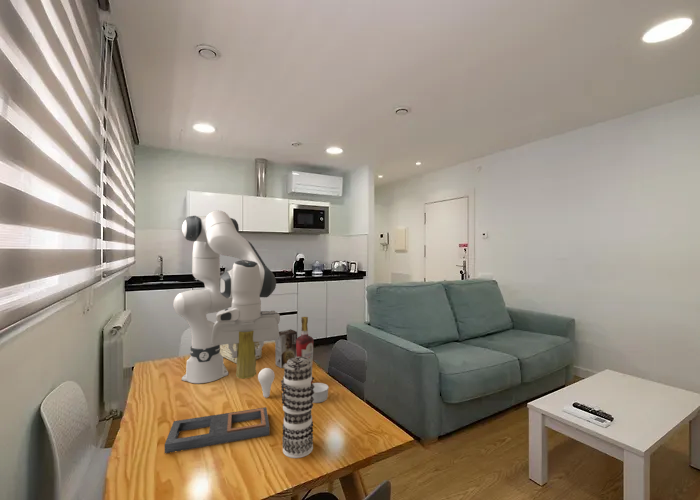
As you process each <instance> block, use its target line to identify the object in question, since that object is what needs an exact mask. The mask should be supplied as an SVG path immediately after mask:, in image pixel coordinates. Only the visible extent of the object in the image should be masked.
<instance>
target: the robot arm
mask: <svg viewBox="0 0 700 500" xmlns="http://www.w3.org/2000/svg"><path fill="white" fill-rule="evenodd" d="M181 231H182V235H183V237H184V238H185V240H187V241H189V242H193V244H192V245H193V246H192V255H191V259H192V260H191V263H192V264H191V273H192V276H193V277H194V278H195V279H197V280H198V281H200V282H202V283H203V284H204V288H202V289H190V290H186V291H182V292H179V293H177V294H176V296H175V297H174V299H173V302H172V304H173V305H172V306H173V309H174V312H175V313H176V314H177V315H178V316H179V317H182V318H183V319H184V320H185V321H186V322H187V324H188V325H189V329H190V336H191V346H190V350H189V352H190V353H189V354H190V356H189V358H188V359H187V360H186V367H185V368H186V369H185V371H186V372H185V374H184V375H183V376H182V377H181V381H184V382H188V383H191V384H204V383H210V382H214V381H217V380H220V379H221V378H223V377H226V376H228V375H229V371H228V369H227V367H226V366H225V363H224V357H222V355H221V354H220V345H224V344H229V345H228V348H229V349H230V351H231V352H232V358H237V351H234V349H233V344H236V343H239V332H250V331H254V332H253V342H259V347H258V349H255V356H258V355H260V350H261V348H262V349H263V347H264V344H265V342H269V341H275V340H277V339H278V338H279V332H280V329H279V324H280V323H281V315H280V313H279V312H278V311H275V310H269V311H268V310H262V306H261V305H262V301H261V298H269V297H270V296H271V295H272V293H274V292H275V290H276V288H277V287H276V286H277V280H276V277H275V274H274V273H273V271H272V270H271V269H270V268H269V267H267V264H265V262H264V260H263V259H262V257H261V256H260V254H259V253H258V251H257V250H256V248H255V246H254V245H253V244H252V243H251V241H249V240H247V239H246V238H245V237H243V236H242V235H241V234H240V233H239V232H240V227H239V224H238V221H237V220H236V219H235V218H232V217H230V216H229V214H228V213H226V212H225V211H222V210H219V209H218V210H217V209H216V210H213V211H210V212H209V213H208V214H207V215H202V216H200V215H198V216H197V215H190V216H187V217H185V218H184V220H183V222H182V225H181ZM221 255H222V256H227V257H231V258H235V259H239V260H238V261H235V262H233V265H232V268H231V269H230V270H226V271H225V272H224V273H223V274H222V275H221V267H220V266H221V264H220V262H221V260H220V259H221V258H220V257H221ZM215 313H216V314H215ZM207 314H215V315H216V316H215V319H216V321H214V322H213V321H211V320H208V318H207Z"/></svg>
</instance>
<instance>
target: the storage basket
mask: <svg viewBox="0 0 700 500" xmlns="http://www.w3.org/2000/svg"><path fill="white" fill-rule="evenodd" d="M228 345H229V344H224V345H220V354H221V355H222V357H223V359H224V358H225V359H227V360H228V361H230V362H233V363H234V364H236V365H237V358H232V352H231V351H230V349H229V348H228ZM258 347H259V342H255V349H258ZM233 349H234V351H237V343H236V344H233ZM262 351H263V347H262V348H261V350H260V355H258V356H255V358H256V360H258V359H261V358H262V354H263V353H262Z"/></svg>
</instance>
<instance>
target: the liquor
mask: <svg viewBox="0 0 700 500" xmlns="http://www.w3.org/2000/svg"><path fill="white" fill-rule="evenodd" d="M300 318H301V319H300V320H301V333H300V336H297V339H296V355H297V357H305V358H307V359H308V360H309V361H310V362H311V363H312V364H313V361H314V359H313V356H314V338H313V337H312V336H311V335H309V330H308V321H309V317H308V316H301V317H300ZM311 374H312V375H313V365H312V366H311ZM311 383H314V380H312V381H311Z"/></svg>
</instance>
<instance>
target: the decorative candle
mask: <svg viewBox="0 0 700 500" xmlns="http://www.w3.org/2000/svg"><path fill="white" fill-rule="evenodd" d="M313 365H314V364H313V362H312V363H311V362H310V361H309V360H308V359H307V358H305V357H293V358H290V359H289V360H288V361H287V363H285V364H284V365H283V366H284V368H283V373H284V375H283V377H282V379H281V380H280V382H281V387H280V388H281V389H280V390H281V392H282V393H281V400H282V401H281V403H282V411H283V412H284V413H283V415H284V416H283V424H282V435H283V436H282V453H283V454H284V456H285V457H288V458H290V459H299V458H304V457H307V456H309V454H311V453H312V452H313V449H314V442H313V441H314V434H313V432H314V428H313V427H314V421H313V415H312V410H313V408H314V403H312V402H313V400H314V399H313V397H312V395H313V394H314V391H313V388H314V385H313V384H312V383H313V382H312V383H311V381H312V380H313V381H314V380H315V377H314V376H313V373H312V374H311V366H312V367H313Z"/></svg>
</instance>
